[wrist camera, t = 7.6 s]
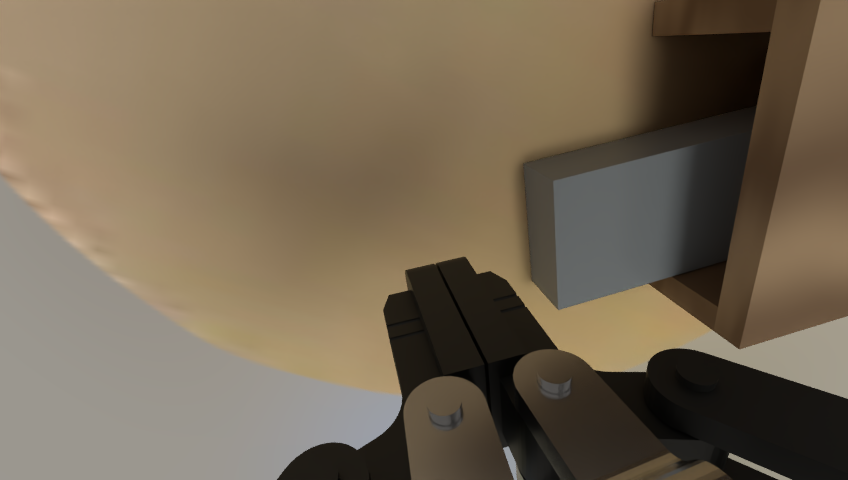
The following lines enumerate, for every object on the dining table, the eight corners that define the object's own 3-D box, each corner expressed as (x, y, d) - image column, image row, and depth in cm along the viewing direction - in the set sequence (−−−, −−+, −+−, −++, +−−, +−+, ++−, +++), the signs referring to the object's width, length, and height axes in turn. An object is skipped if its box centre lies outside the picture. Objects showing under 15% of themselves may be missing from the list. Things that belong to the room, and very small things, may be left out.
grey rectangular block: (519, 161, 18) (553, 180, 16) (758, 102, 20) (826, 111, 17) (528, 276, 21) (558, 309, 18) (737, 217, 22) (793, 240, 20)
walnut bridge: (765, 237, 23) (907, 297, 17) (633, 272, 22) (739, 349, 16) (828, -30, 17) (1065, -66, 12) (654, 1, 16) (825, -22, 11)
